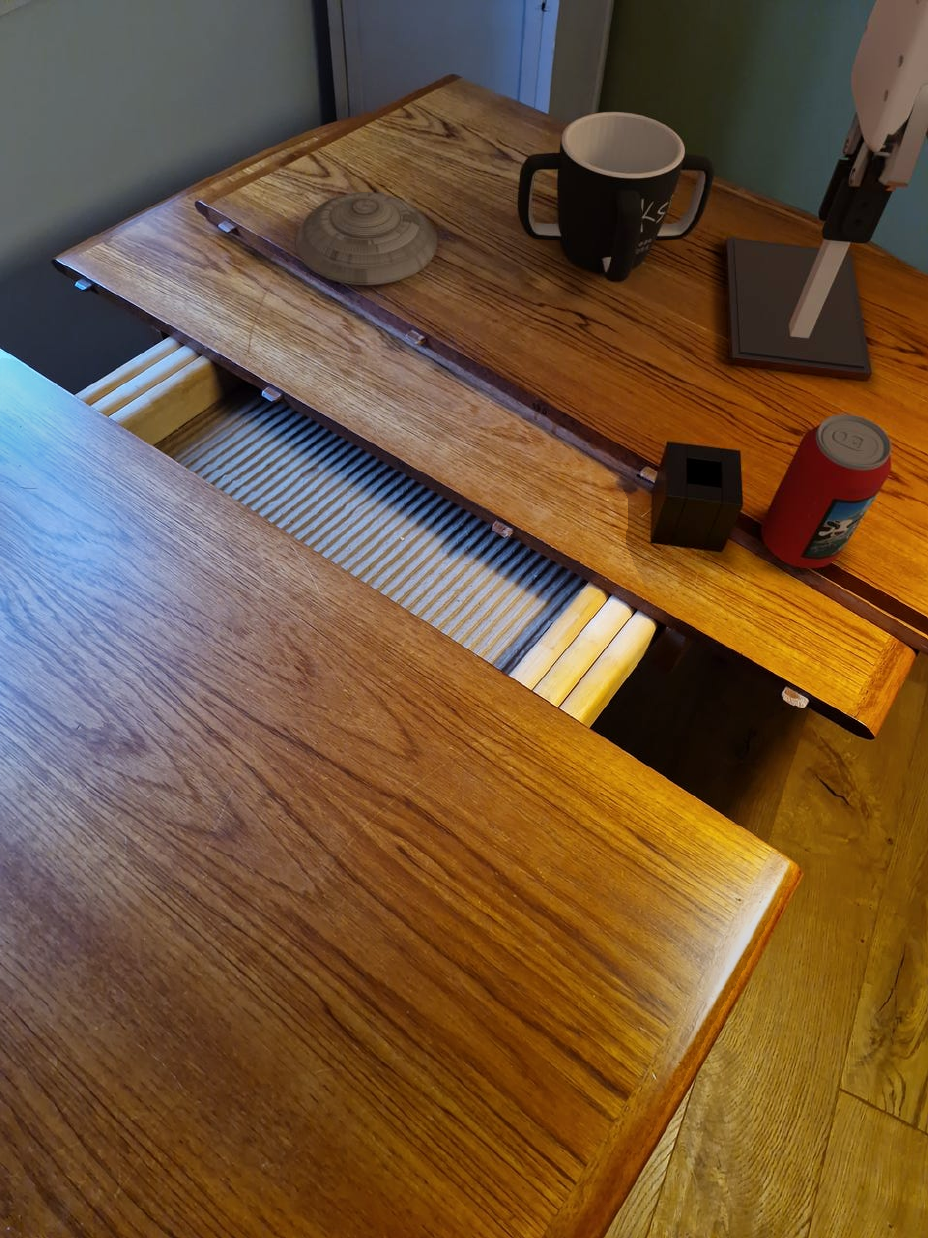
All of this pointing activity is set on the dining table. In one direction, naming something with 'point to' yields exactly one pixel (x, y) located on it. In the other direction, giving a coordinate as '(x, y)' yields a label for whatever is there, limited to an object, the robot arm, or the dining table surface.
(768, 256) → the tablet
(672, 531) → the pen holder
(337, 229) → the flying saucer
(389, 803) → the dining table surface
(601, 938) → the dining table surface
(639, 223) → the mug
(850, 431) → the beverage can
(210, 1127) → the dining table surface
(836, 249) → the stylus
